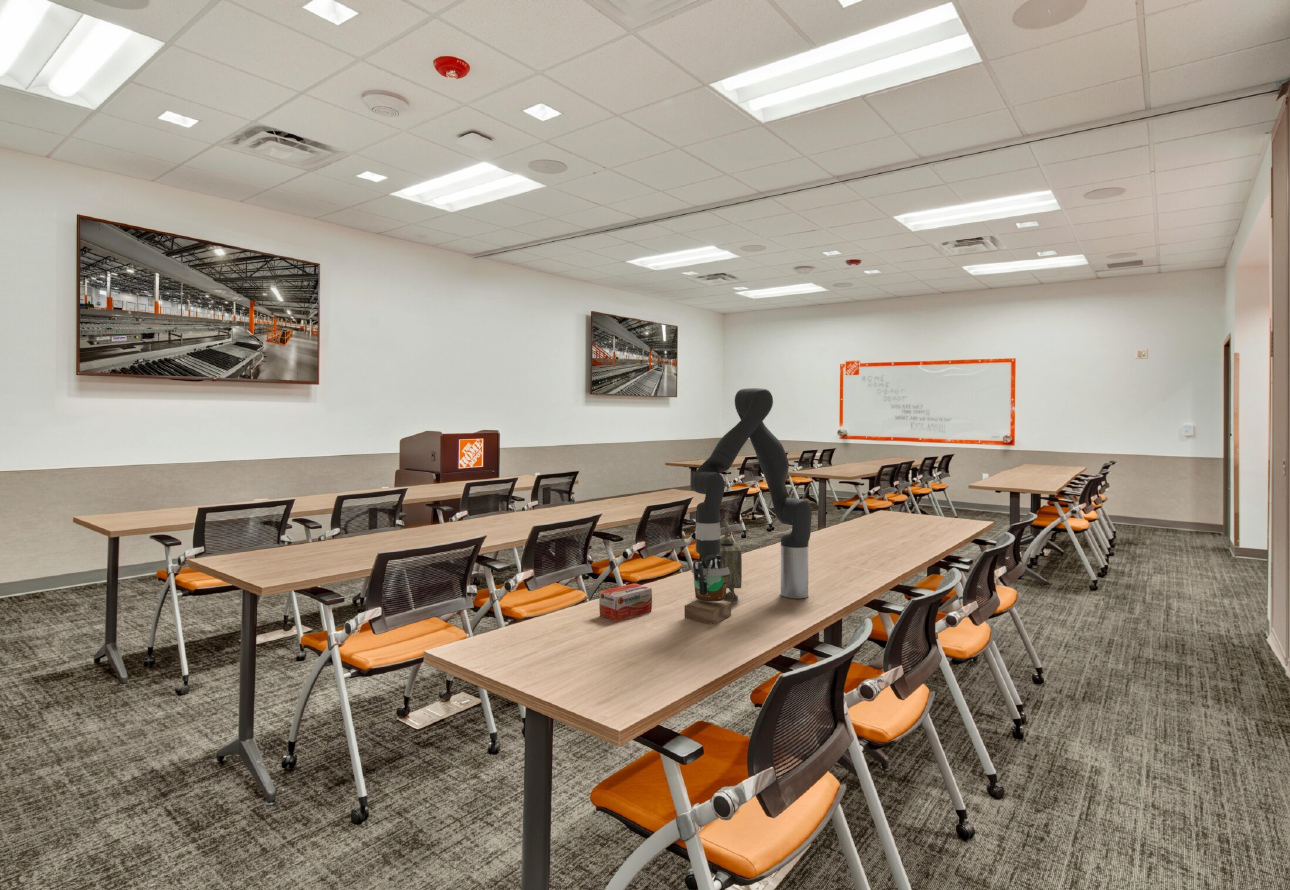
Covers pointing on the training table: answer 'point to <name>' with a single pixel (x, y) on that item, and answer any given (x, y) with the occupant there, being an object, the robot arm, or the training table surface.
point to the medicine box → (625, 602)
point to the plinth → (708, 611)
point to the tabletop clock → (731, 561)
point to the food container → (713, 584)
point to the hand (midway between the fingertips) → (708, 591)
